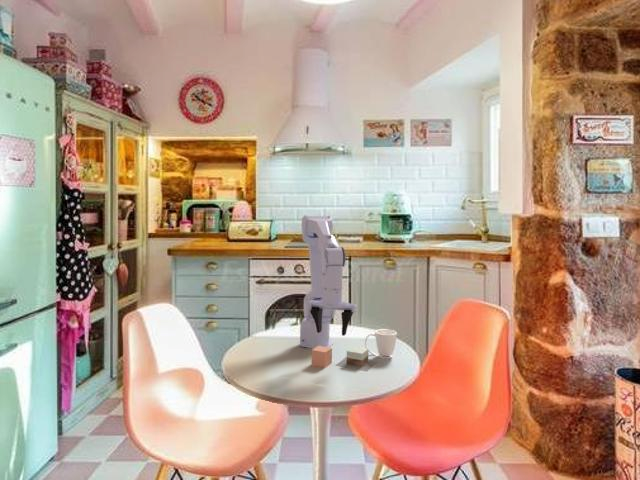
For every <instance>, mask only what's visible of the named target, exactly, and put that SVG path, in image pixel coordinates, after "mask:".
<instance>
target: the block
mask: <svg viewBox="0 0 640 480" xmlns="http://www.w3.org/2000/svg"><path fill="white" fill-rule="evenodd" d="M332 363H333V348H332V347H323V346H317V347H316V348H311V366H314V367H319V368H327V367H328V366H330V365H331V364H332Z"/></svg>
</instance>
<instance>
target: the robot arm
mask: <svg viewBox="0 0 640 480" xmlns="http://www.w3.org/2000/svg"><path fill="white" fill-rule="evenodd" d="M333 225H334V224H333V218H332V216H331V215H306V214H305V215H303V216H302V219H301V235H302V237H301V238H302V241H303V242H305V243H306V244H307V247H308V251H309V269H310V270H309V272H310V284H311V285H310V286H311V287H310V288H311V290H310V291H309V292H308V293H307V294H306V295H305V296H304V297H303V316H304V318H303V319H302V320H301V322H300V327H299V328H300V330H299V335H300V336H299V344H298V346H299V347H303V348H309V349H314V348H316V347H317V346H323V347H329V348H331V346H333V345H334V344H335V343H334V342H332V341H330V327H331V325H330V324H331V321H332V319H333V318H334V317H335V314H336V311H342V312H341V322H342V324H341V336H346V335H347V330H348V326H349V324H350V321H351V318H352V316H353V315H354V313H355V312H357V311H358V309H357V306H358V305H357V304H356V303H350V302H345V301H344V302H343V274H344V273H343V270H344V269H343V268H344V266H345V265H346V259H347V258H346V250H345V248H344V247H343V246H340V245H339V244H338V241H337V239H336V237H335V235H333V234H332V231H333Z"/></svg>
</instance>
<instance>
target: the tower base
mask: <svg viewBox="0 0 640 480" xmlns="http://www.w3.org/2000/svg"><path fill="white" fill-rule="evenodd" d="M368 359H369V355H368V356H367V357H366V358H365V359H363V360H358V359H352V358H347V363H346V364H349V365H354V366H360V367H363V366H364V365H365V364H366V363H367V362H368Z"/></svg>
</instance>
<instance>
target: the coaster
mask: <svg viewBox="0 0 640 480" xmlns="http://www.w3.org/2000/svg"><path fill="white" fill-rule="evenodd" d="M378 362H379V360H377V359H373V358H372V359H370V358H368V362H367V363H366V364H365V365H364V366H363V367H360V366H354V365H349V364H346V363H347V356H346V357H344V358H343V359H342V360H340V361H339V362H338V363H336V364H335V366H338V367H342V368H347V369H354V370H358V371H363V372H368V371H369V370H371V368H373V367H374V366H375V365H376V364H377V363H378Z"/></svg>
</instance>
